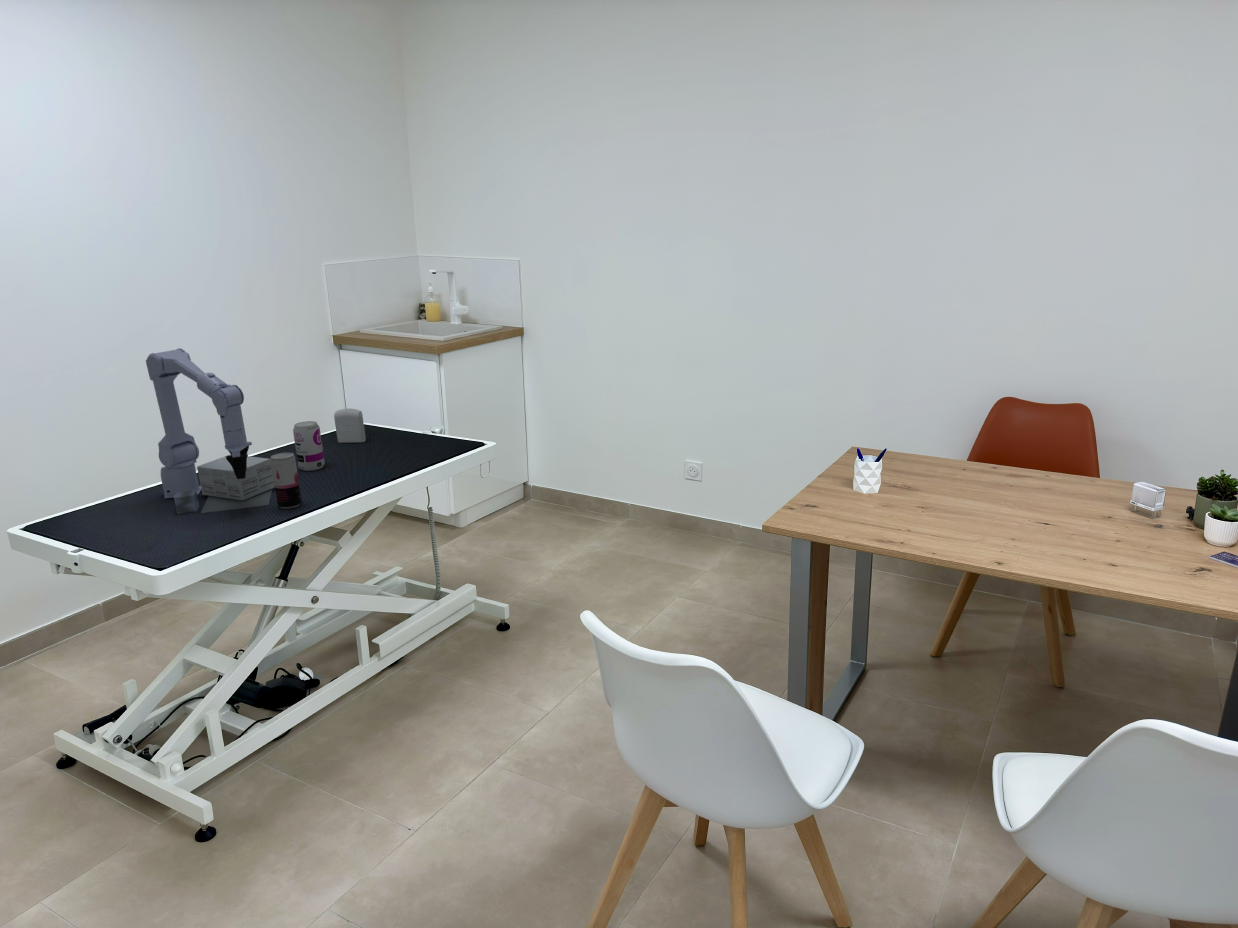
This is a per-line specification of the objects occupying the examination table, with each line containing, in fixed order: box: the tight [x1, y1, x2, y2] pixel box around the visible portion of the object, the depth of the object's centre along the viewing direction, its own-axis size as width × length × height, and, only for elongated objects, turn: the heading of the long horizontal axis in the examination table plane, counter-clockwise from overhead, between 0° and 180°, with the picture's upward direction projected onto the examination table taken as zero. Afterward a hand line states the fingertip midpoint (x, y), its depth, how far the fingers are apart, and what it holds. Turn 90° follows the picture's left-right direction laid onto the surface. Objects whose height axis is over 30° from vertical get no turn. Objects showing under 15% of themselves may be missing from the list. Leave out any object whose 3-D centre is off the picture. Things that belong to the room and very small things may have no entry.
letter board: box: [200, 488, 274, 515], centre depth 252 cm, size 18×22×1 cm
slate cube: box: [173, 490, 200, 515], centre depth 242 cm, size 5×5×5 cm
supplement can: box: [292, 420, 326, 472], centre depth 276 cm, size 8×8×15 cm
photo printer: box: [333, 408, 367, 444], centre depth 306 cm, size 10×4×12 cm, turn 85°
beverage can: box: [270, 452, 303, 509], centre depth 242 cm, size 7×6×15 cm
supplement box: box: [196, 453, 275, 500], centre depth 255 cm, size 17×13×9 cm
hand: (241, 474), depth 242 cm, fingers open, 7 cm apart
